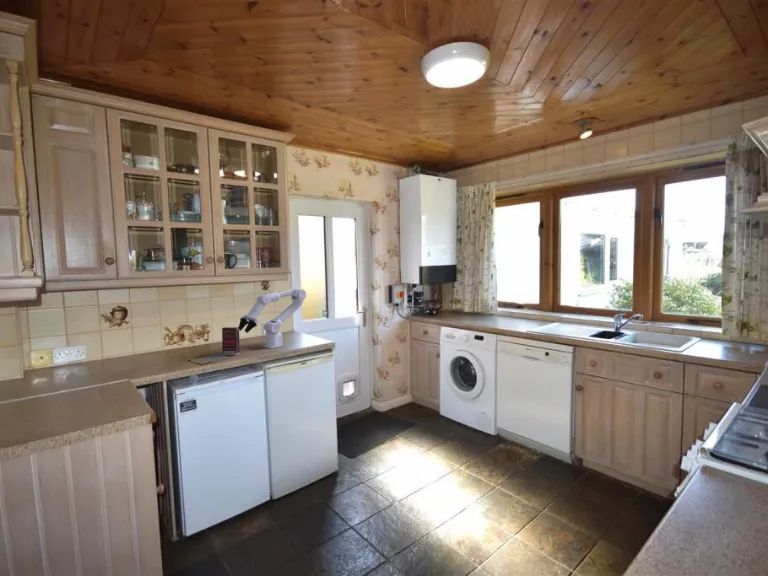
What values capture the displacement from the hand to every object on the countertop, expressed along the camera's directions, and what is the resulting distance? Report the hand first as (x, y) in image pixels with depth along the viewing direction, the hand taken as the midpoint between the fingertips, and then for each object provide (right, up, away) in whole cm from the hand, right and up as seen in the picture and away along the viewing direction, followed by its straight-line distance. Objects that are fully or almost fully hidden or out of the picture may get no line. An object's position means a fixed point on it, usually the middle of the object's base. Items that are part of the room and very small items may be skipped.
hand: (242, 331), depth 230 cm
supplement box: (-5, -13, -4) cm, 15 cm away
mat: (-13, -14, -14) cm, 24 cm away
